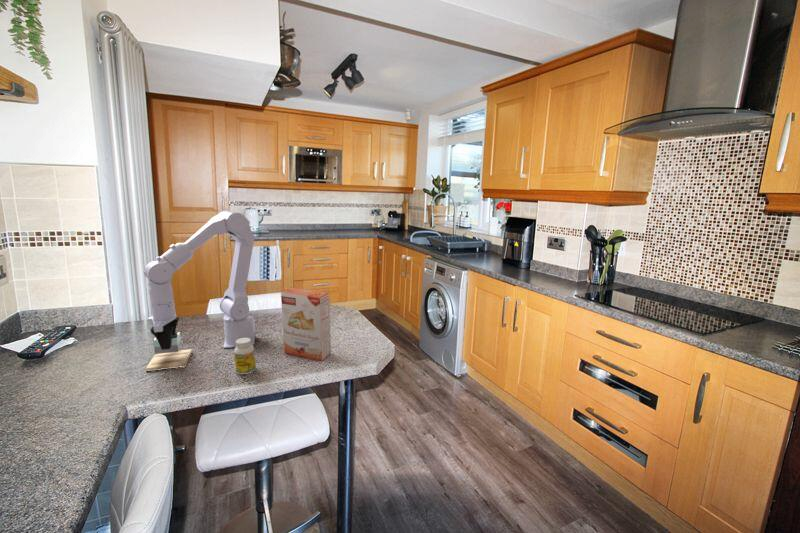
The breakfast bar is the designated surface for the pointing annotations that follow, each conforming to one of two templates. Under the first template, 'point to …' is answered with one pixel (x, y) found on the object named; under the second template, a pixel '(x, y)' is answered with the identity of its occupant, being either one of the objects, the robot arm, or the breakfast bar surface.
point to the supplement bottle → (244, 356)
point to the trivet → (169, 359)
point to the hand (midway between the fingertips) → (168, 345)
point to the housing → (174, 344)
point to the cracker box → (306, 323)
